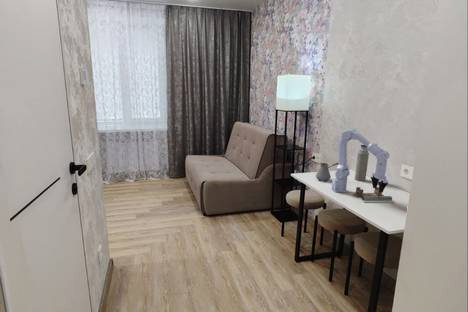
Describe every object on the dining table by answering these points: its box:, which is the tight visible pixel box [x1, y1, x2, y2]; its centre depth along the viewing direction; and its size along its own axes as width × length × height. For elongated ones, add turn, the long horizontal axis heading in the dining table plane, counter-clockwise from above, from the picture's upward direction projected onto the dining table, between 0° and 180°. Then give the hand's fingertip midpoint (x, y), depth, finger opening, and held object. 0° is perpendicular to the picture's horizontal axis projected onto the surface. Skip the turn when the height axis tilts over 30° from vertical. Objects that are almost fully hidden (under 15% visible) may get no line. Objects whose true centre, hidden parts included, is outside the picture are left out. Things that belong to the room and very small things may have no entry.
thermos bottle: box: [354, 144, 370, 182], centre depth 230 cm, size 8×8×28 cm
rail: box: [360, 195, 393, 200], centre depth 191 cm, size 19×2×2 cm, turn 93°
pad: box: [358, 197, 395, 204], centre depth 191 cm, size 20×7×1 cm, turn 93°
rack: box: [352, 186, 385, 198], centre depth 199 cm, size 19×5×5 cm, turn 93°
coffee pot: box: [315, 162, 338, 182], centre depth 231 cm, size 21×12×15 cm, turn 97°
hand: (377, 190), depth 190 cm, fingers open, 7 cm apart
